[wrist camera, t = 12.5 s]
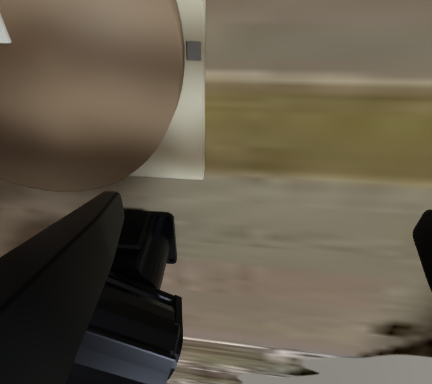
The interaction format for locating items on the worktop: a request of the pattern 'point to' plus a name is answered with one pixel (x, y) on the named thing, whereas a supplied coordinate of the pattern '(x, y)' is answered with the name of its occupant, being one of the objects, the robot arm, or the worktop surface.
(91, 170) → the walnut dial
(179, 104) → the birch board
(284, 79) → the worktop surface
